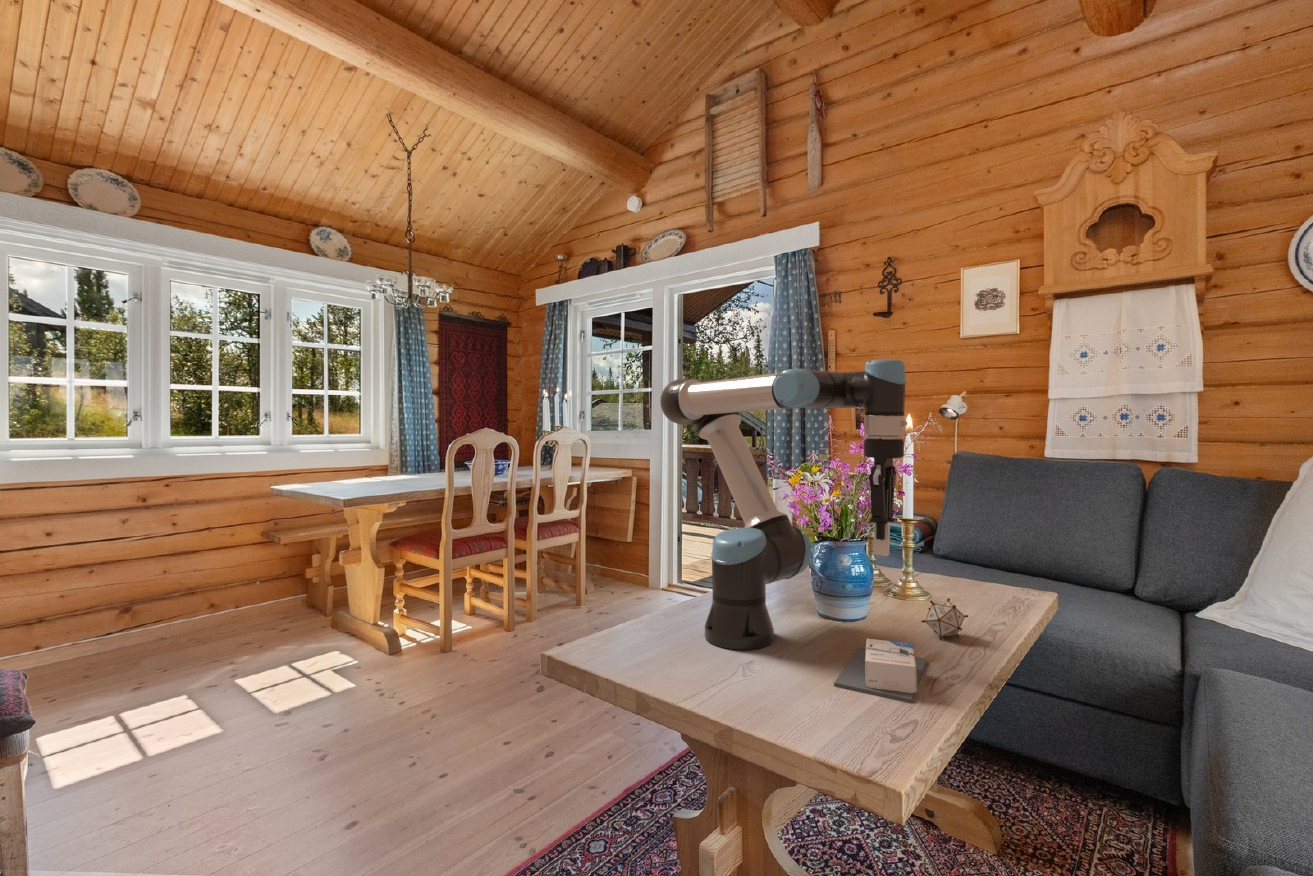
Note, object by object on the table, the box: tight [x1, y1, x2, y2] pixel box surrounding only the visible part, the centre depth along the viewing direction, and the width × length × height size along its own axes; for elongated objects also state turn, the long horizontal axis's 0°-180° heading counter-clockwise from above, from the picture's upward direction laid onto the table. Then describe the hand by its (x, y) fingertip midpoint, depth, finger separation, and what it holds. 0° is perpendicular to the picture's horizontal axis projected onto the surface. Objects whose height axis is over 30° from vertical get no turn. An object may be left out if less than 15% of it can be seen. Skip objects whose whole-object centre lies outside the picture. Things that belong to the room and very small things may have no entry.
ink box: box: [865, 638, 918, 694], centre depth 112 cm, size 9×5×12 cm
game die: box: [920, 597, 969, 641], centre depth 134 cm, size 9×8×10 cm
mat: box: [833, 646, 928, 704], centre depth 115 cm, size 13×20×1 cm, turn 149°
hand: (881, 554), depth 123 cm, fingers closed
